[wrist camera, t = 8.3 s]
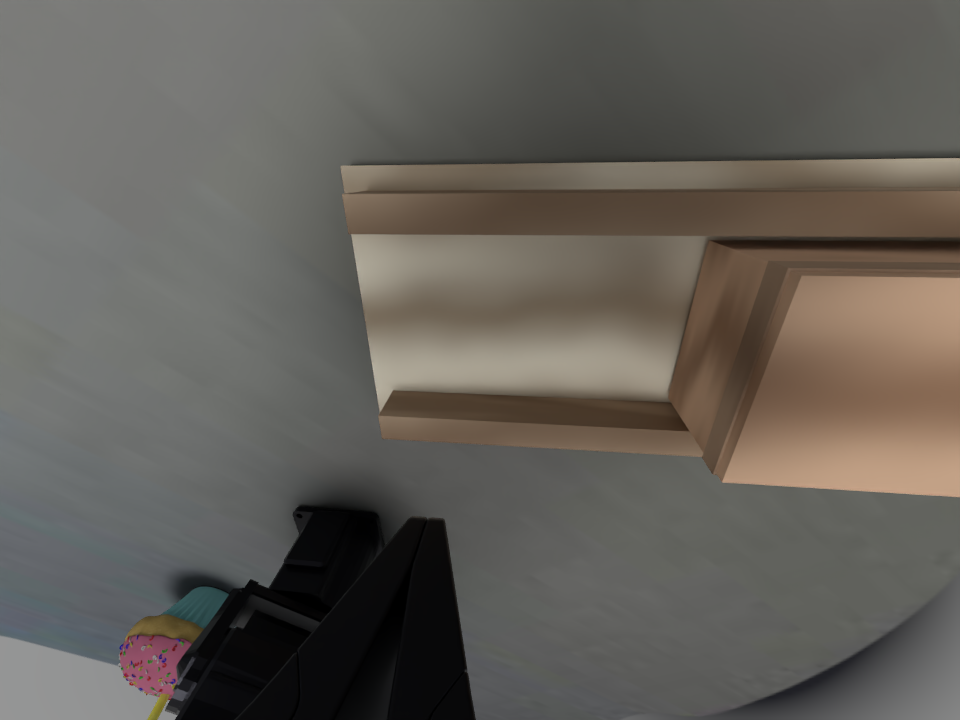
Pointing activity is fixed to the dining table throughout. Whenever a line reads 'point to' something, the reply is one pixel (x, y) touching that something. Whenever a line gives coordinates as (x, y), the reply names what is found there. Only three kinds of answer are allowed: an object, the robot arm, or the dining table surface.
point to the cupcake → (166, 643)
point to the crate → (826, 365)
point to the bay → (584, 281)
